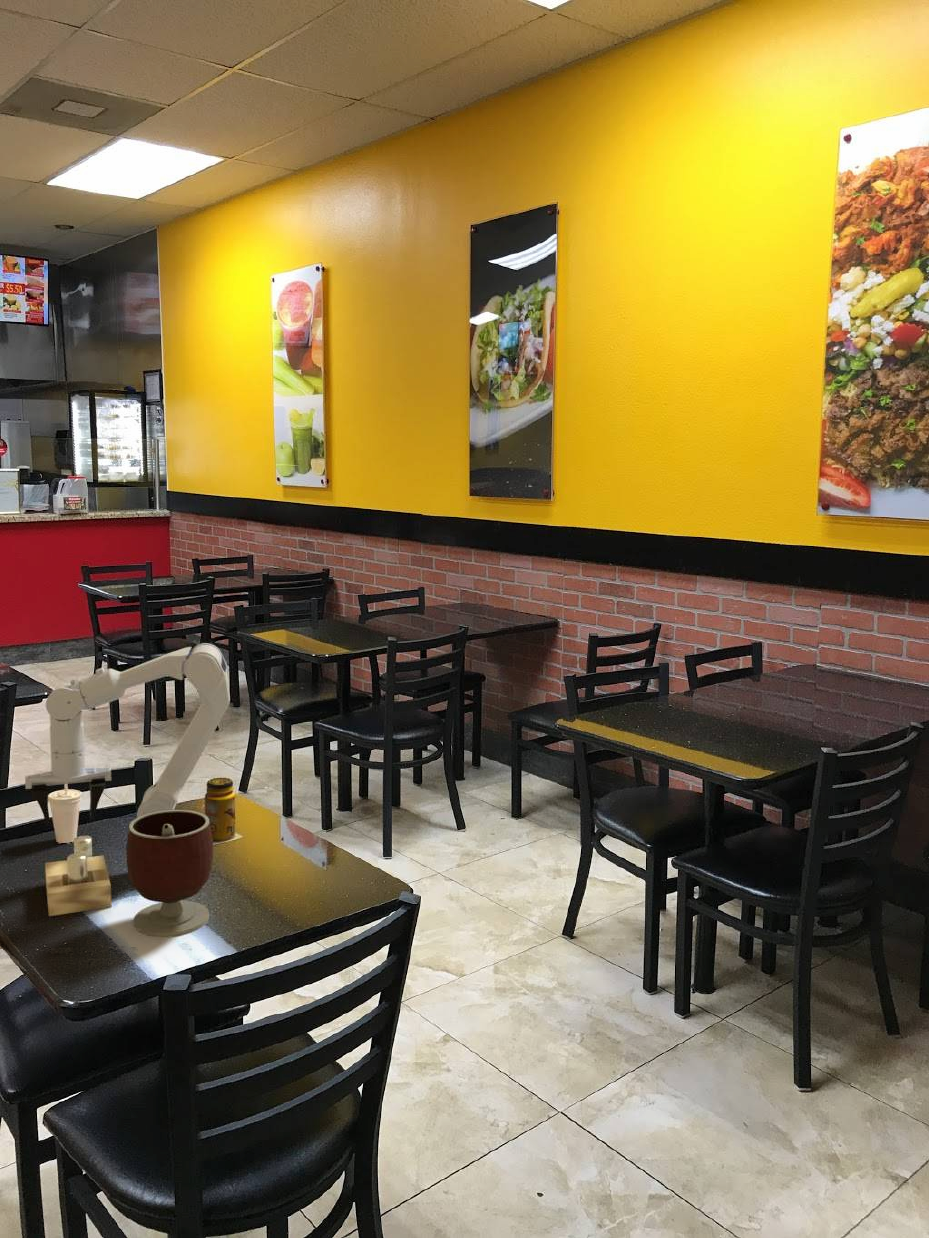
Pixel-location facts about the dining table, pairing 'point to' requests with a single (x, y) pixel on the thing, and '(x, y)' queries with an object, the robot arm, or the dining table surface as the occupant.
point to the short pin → (83, 845)
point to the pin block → (77, 888)
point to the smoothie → (65, 813)
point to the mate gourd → (170, 869)
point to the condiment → (221, 810)
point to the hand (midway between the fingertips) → (70, 821)
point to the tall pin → (77, 868)
